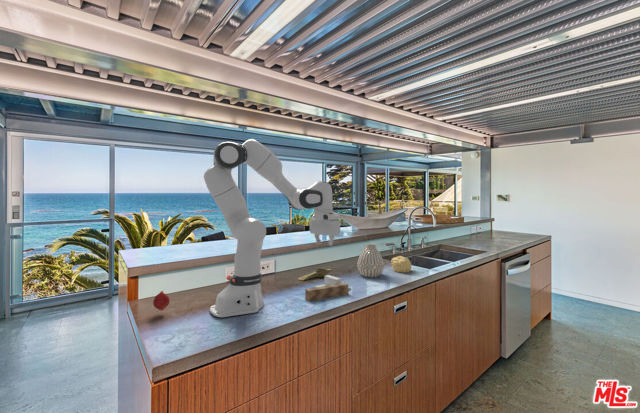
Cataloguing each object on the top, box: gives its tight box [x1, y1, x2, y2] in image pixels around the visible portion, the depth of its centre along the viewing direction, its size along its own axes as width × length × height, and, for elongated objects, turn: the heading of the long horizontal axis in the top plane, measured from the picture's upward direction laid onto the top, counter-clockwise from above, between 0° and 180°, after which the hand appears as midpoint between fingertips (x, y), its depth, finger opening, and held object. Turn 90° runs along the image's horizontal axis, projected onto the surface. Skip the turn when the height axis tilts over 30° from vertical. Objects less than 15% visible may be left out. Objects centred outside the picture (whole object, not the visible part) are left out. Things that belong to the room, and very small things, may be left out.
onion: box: [152, 290, 170, 311], centre depth 121 cm, size 6×6×8 cm
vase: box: [356, 243, 385, 278], centre depth 178 cm, size 16×16×20 cm
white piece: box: [313, 274, 352, 291], centre depth 152 cm, size 14×13×6 cm
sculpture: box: [390, 255, 412, 273], centre depth 189 cm, size 11×12×11 cm
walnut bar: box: [304, 282, 349, 302], centre depth 139 cm, size 22×3×5 cm, turn 121°
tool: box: [297, 268, 333, 281], centre depth 173 cm, size 22×6×5 cm, turn 114°
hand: (324, 244), depth 141 cm, fingers open, 8 cm apart
